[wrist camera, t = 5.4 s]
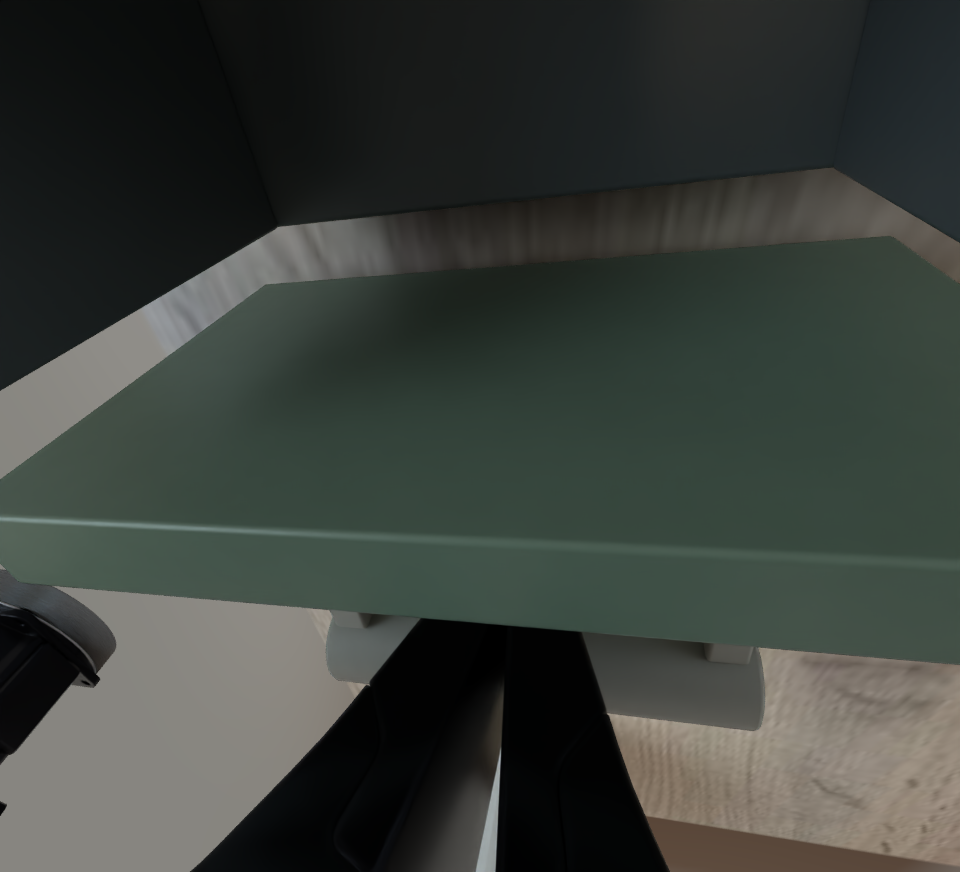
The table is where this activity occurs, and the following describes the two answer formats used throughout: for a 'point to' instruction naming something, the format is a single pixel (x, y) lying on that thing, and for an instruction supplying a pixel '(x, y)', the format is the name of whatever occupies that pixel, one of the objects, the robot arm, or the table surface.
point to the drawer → (498, 328)
